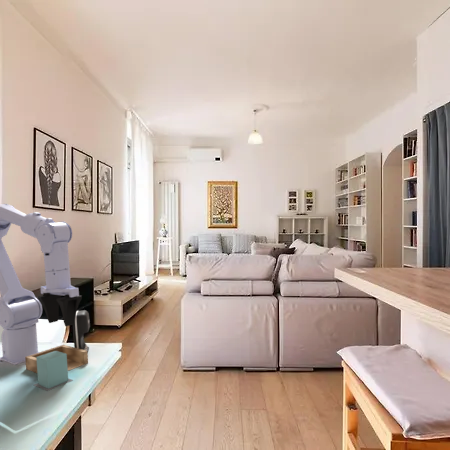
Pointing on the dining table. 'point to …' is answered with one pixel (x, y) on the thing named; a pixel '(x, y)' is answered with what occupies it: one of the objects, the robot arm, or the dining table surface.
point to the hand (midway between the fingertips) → (61, 323)
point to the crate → (73, 354)
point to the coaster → (51, 387)
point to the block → (52, 369)
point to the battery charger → (81, 329)
